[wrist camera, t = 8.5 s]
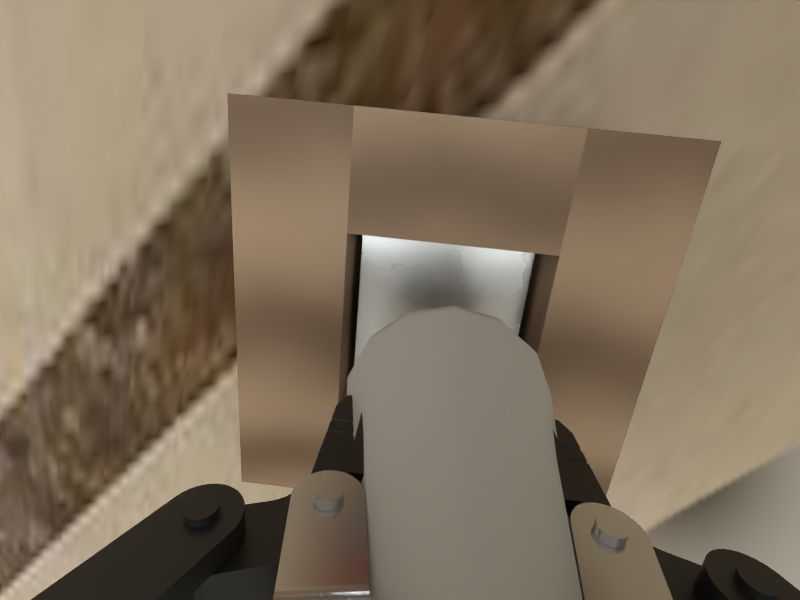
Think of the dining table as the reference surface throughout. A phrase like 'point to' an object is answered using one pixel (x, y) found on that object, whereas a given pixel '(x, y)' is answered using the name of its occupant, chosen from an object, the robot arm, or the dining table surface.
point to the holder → (458, 225)
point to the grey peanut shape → (460, 463)
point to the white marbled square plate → (437, 282)
